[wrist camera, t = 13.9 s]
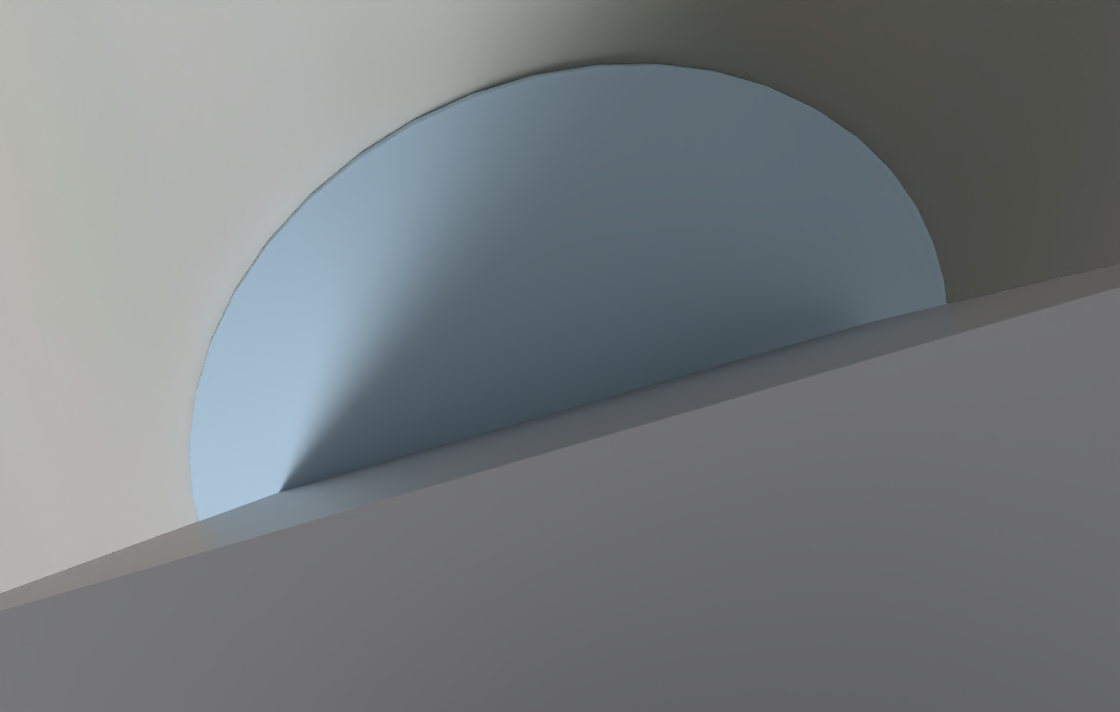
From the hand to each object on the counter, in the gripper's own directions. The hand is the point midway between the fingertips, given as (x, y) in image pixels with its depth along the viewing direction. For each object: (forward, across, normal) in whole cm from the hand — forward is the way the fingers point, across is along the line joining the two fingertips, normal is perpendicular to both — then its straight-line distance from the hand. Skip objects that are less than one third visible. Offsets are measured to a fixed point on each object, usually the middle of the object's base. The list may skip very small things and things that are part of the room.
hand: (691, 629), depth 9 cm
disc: (+3, 0, 0) cm, 3 cm away
